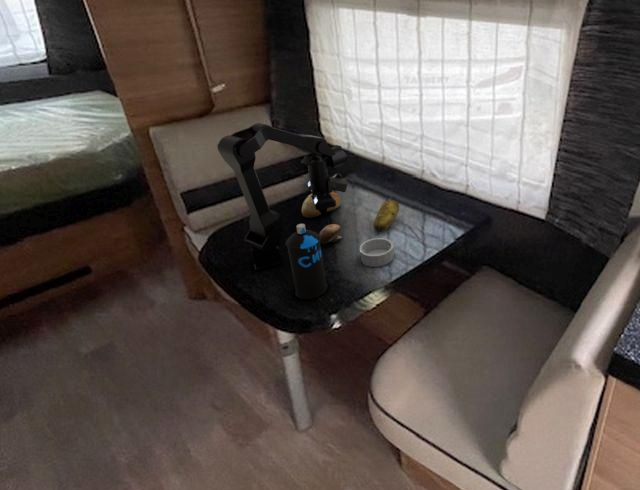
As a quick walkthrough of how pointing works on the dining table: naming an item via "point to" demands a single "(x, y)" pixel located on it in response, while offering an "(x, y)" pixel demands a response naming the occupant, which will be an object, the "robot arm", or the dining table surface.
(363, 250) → the white ramekin
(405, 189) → the dining table surface
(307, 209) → the bread roll
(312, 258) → the aerosol can
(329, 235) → the mushroom
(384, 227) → the potato
